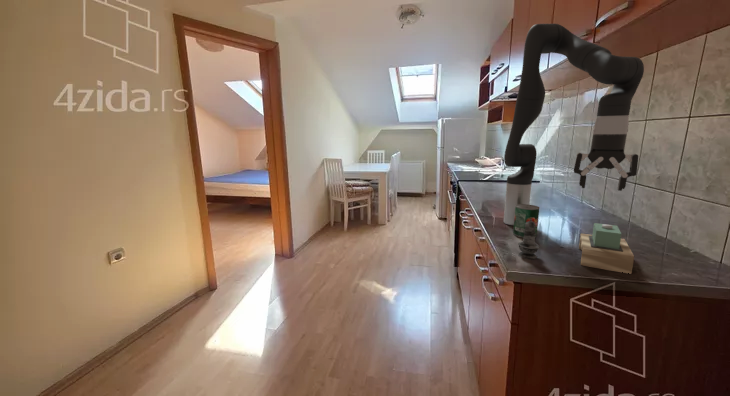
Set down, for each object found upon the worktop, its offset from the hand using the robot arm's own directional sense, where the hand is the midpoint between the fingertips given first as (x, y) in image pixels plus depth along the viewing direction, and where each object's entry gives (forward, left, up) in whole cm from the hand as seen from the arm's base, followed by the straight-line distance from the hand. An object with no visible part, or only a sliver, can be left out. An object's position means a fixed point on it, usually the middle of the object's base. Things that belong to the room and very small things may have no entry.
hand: (600, 188), depth 88 cm
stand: (+2, +3, -21) cm, 21 cm away
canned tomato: (-12, -19, -21) cm, 31 cm away
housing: (+2, +3, -16) cm, 16 cm away
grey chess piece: (+10, -16, -21) cm, 29 cm away
